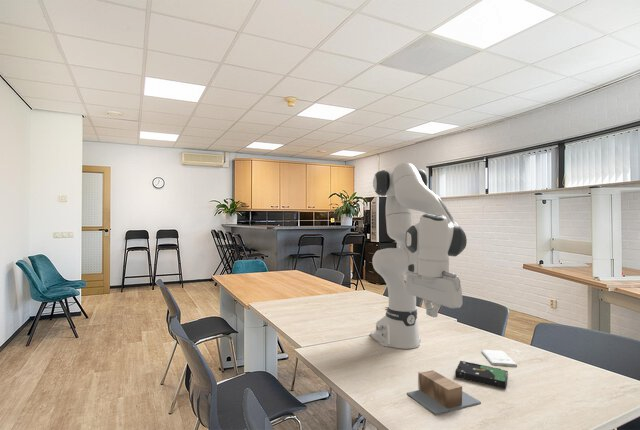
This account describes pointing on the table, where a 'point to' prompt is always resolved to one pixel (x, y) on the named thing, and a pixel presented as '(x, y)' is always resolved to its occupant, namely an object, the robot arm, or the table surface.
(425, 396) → the rubber mat
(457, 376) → the disk drive
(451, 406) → the walnut block
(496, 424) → the table surface
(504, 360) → the external hard drive
